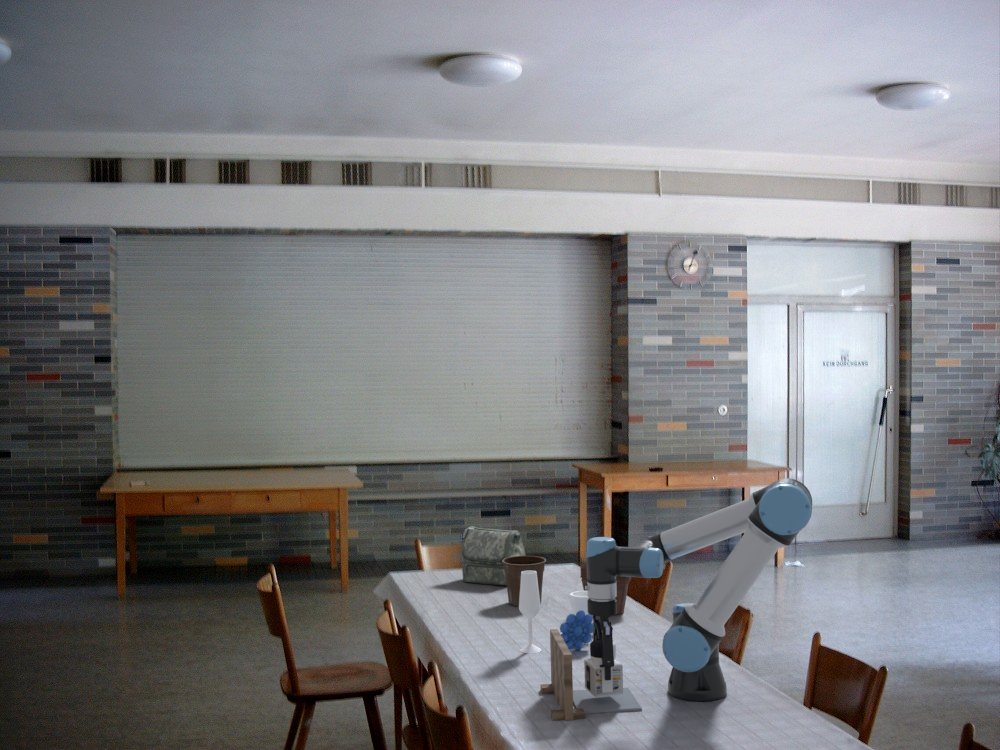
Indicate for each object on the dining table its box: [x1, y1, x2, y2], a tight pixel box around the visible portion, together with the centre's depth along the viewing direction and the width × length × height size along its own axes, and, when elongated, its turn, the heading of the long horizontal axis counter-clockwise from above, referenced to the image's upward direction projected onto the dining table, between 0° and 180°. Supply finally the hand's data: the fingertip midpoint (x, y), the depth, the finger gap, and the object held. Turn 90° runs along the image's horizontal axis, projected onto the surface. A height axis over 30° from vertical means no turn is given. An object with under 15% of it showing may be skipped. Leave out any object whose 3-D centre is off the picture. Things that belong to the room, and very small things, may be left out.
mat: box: [573, 687, 643, 714], centre depth 251 cm, size 16×16×1 cm
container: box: [583, 639, 624, 697], centre depth 251 cm, size 8×8×13 cm
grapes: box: [559, 611, 593, 651], centre depth 299 cm, size 12×7×12 cm, turn 103°
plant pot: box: [502, 555, 547, 608], centre depth 360 cm, size 16×16×16 cm
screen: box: [539, 628, 586, 721], centre depth 250 cm, size 24×8×16 cm, turn 5°
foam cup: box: [569, 590, 593, 637], centre depth 316 cm, size 10×9×13 cm
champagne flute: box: [518, 570, 542, 654], centre depth 299 cm, size 7×7×24 cm
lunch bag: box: [458, 525, 527, 587], centre depth 400 cm, size 26×18×22 cm
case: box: [579, 564, 632, 617], centre depth 345 cm, size 18×20×18 cm
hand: (603, 686), depth 251 cm, fingers closed on container, 8 cm apart
